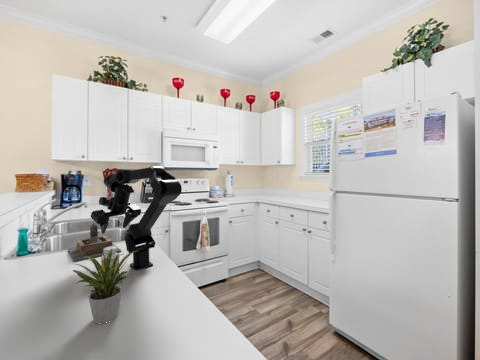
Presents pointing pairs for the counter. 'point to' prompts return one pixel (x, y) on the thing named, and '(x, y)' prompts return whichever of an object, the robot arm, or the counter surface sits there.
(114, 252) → the supplement bottle
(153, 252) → the counter surface
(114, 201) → the robot arm
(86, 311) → the counter surface
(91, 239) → the grey stone pawn figure
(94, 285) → the house plant
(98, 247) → the end holder
